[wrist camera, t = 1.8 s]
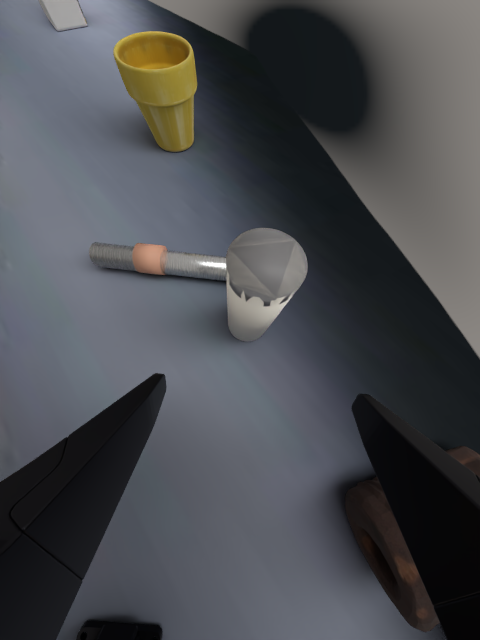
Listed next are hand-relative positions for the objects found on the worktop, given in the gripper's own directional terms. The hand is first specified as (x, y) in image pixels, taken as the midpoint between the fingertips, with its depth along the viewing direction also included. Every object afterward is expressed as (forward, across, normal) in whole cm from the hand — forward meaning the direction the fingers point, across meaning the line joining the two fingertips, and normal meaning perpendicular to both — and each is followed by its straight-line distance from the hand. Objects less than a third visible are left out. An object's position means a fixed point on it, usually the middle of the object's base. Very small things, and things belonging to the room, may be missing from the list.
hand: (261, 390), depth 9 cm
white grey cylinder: (+15, 0, +4) cm, 15 cm away
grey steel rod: (+19, +7, 0) cm, 21 cm away
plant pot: (+38, +16, -19) cm, 46 cm away
